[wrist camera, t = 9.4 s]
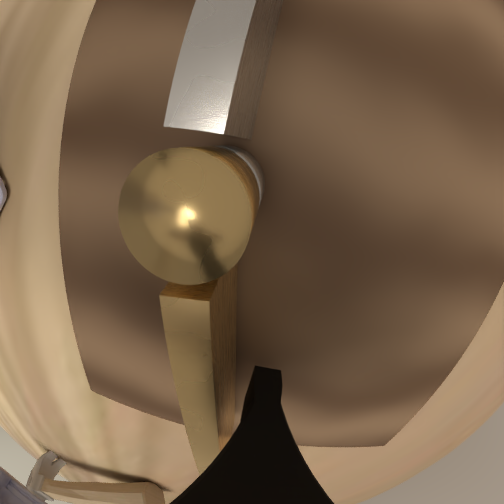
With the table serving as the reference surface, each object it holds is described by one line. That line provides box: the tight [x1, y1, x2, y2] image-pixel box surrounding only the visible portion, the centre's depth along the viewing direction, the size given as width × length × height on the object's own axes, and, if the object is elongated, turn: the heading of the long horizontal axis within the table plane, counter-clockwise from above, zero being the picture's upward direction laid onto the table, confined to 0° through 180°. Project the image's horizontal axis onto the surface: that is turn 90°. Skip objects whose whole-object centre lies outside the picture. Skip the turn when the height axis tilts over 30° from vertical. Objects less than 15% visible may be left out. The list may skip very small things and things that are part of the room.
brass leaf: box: [118, 146, 260, 475], centre depth 8 cm, size 13×2×4 cm, turn 178°
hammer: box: [26, 450, 165, 504], centre depth 21 cm, size 16×5×30 cm
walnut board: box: [59, 0, 504, 447], centre depth 9 cm, size 28×20×1 cm
